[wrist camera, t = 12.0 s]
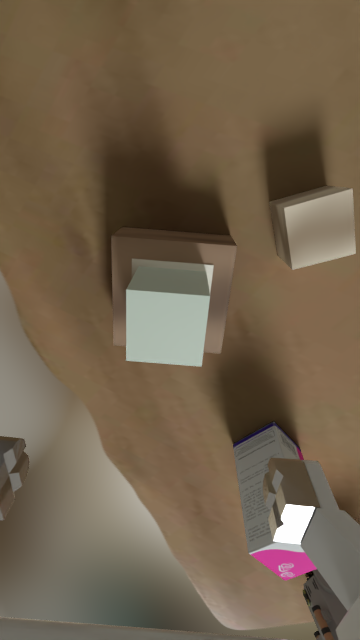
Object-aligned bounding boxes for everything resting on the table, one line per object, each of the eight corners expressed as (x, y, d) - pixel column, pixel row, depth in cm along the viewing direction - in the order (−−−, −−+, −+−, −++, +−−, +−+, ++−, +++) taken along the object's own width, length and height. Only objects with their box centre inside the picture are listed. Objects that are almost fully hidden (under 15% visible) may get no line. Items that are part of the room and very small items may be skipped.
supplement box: (230, 444, 36) (246, 554, 26) (273, 419, 34) (309, 527, 24) (259, 471, 38) (285, 584, 28) (301, 449, 36) (346, 561, 26)
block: (269, 201, 25) (284, 208, 21) (326, 185, 24) (352, 188, 20) (277, 254, 27) (292, 269, 23) (330, 240, 26) (355, 253, 22)
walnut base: (122, 226, 26) (110, 236, 22) (230, 235, 26) (237, 246, 22) (122, 324, 30) (113, 345, 26) (217, 331, 30) (220, 354, 26)
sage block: (138, 266, 23) (126, 289, 19) (206, 271, 23) (210, 296, 19) (137, 326, 25) (126, 360, 21) (199, 331, 25) (201, 366, 21)
